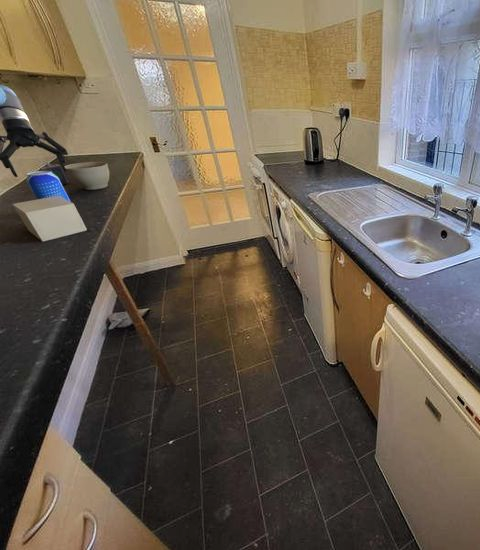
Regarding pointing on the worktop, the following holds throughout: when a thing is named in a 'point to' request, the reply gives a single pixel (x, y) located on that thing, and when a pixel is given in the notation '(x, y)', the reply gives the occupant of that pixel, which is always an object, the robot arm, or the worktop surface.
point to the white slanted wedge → (50, 217)
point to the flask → (56, 172)
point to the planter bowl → (89, 174)
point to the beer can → (45, 185)
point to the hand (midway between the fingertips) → (40, 172)
